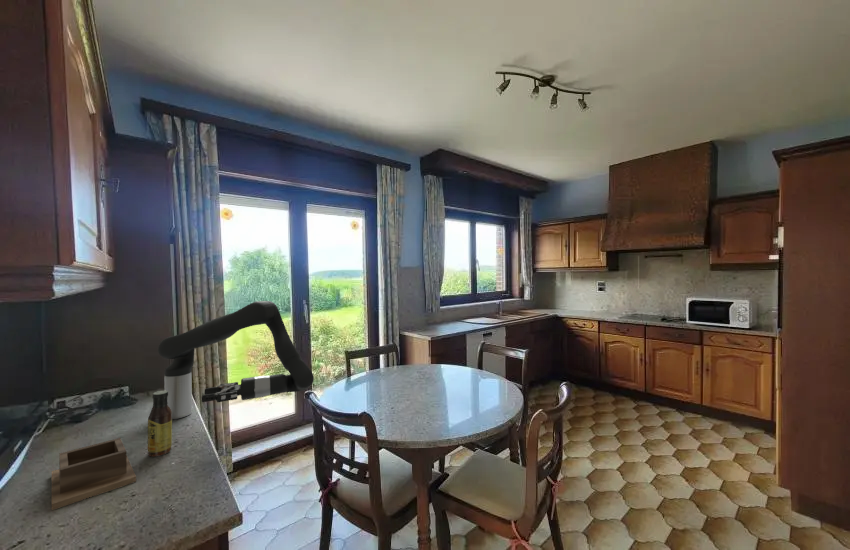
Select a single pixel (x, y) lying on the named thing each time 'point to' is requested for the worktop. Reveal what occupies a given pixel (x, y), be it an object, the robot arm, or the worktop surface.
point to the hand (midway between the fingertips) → (203, 395)
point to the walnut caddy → (90, 472)
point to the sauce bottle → (159, 425)
